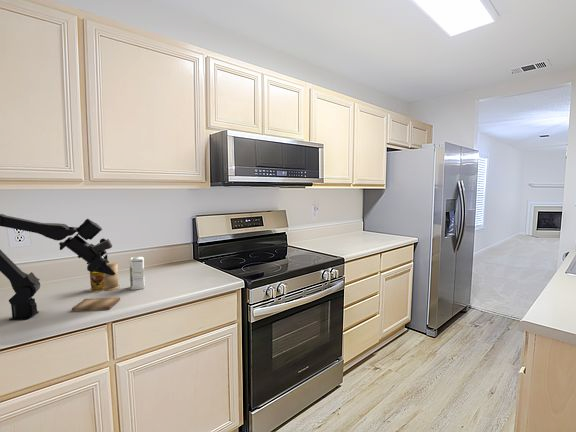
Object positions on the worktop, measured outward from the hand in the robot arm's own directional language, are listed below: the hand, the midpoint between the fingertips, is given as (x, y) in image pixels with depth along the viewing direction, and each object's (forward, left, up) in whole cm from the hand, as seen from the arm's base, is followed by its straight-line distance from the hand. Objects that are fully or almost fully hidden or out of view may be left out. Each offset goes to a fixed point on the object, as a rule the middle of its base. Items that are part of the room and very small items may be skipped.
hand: (114, 272), depth 130 cm
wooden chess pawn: (-1, 0, -7) cm, 7 cm away
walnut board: (-7, -2, -13) cm, 15 cm away
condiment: (-16, +19, -13) cm, 28 cm away
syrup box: (+2, +19, -13) cm, 23 cm away
